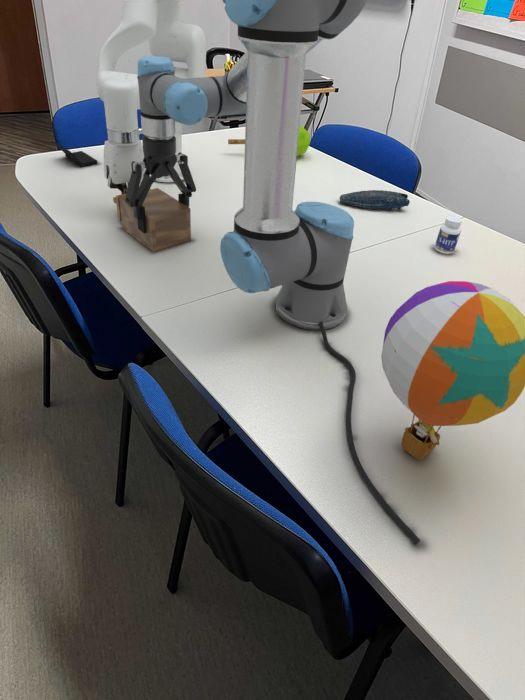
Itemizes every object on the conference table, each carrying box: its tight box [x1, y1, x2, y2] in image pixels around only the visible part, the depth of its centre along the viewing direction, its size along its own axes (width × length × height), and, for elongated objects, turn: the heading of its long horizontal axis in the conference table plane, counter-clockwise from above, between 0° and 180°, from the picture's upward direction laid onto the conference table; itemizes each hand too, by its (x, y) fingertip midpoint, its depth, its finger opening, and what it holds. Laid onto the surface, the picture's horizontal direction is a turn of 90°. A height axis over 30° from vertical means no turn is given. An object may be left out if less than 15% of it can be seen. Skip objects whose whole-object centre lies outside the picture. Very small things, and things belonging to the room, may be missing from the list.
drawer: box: [112, 188, 152, 222], centre depth 136 cm, size 19×10×7 cm, turn 41°
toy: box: [380, 280, 525, 461], centre depth 74 cm, size 20×20×30 cm
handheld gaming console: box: [53, 140, 98, 167], centre depth 169 cm, size 12×7×10 cm
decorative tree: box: [227, 125, 311, 157], centre depth 186 cm, size 18×10×30 cm
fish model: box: [339, 189, 411, 211], centre depth 158 cm, size 7×21×5 cm, turn 84°
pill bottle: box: [434, 215, 463, 255], centre depth 137 cm, size 5×5×9 cm
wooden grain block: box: [119, 187, 192, 253], centre depth 132 cm, size 15×11×9 cm
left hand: (129, 205), depth 140 cm, fingers closed
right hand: (163, 225), depth 130 cm, fingers closed on wooden grain block, 11 cm apart
